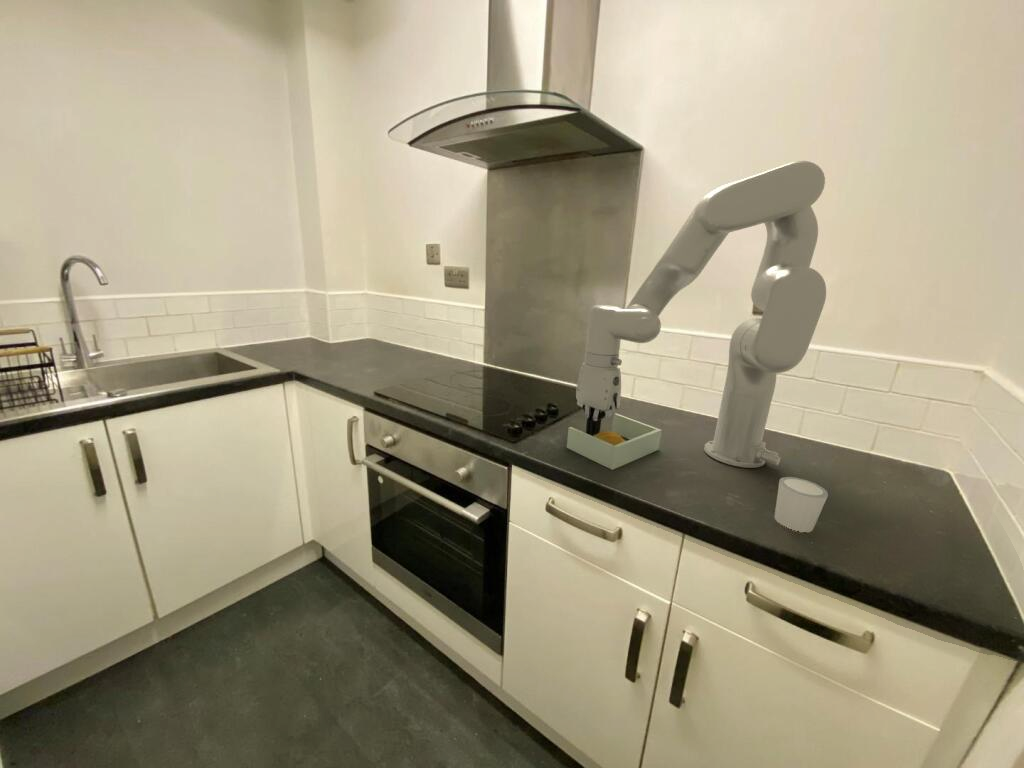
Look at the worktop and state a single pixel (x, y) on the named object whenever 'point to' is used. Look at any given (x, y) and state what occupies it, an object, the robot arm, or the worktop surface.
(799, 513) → the white cup
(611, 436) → the bread roll
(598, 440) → the box
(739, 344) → the robot arm
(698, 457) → the worktop surface
